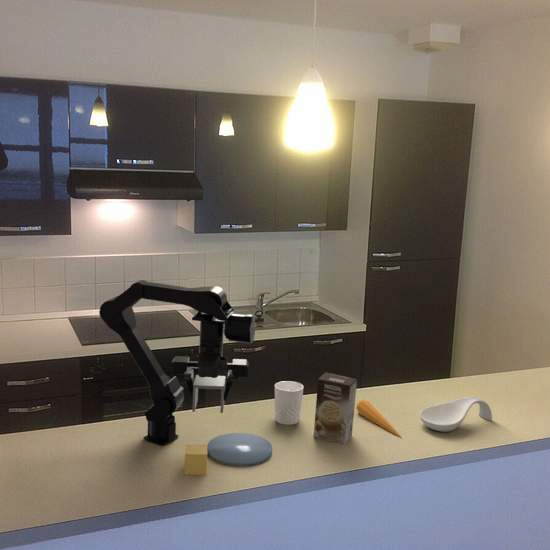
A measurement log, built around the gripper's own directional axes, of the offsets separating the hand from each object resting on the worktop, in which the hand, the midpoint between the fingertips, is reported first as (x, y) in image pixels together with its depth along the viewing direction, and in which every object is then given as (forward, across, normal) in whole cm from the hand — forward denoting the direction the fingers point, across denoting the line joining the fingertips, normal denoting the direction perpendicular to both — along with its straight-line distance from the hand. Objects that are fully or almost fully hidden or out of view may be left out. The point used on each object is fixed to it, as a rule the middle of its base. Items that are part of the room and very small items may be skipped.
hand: (209, 399), depth 168 cm
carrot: (+12, +46, +17) cm, 51 cm away
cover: (+2, 0, 0) cm, 2 cm away
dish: (+12, +8, -3) cm, 15 cm away
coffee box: (+12, +33, +8) cm, 36 cm away
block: (+12, -2, -13) cm, 18 cm away
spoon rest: (+12, +69, +20) cm, 72 cm away
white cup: (+12, +21, +17) cm, 30 cm away
